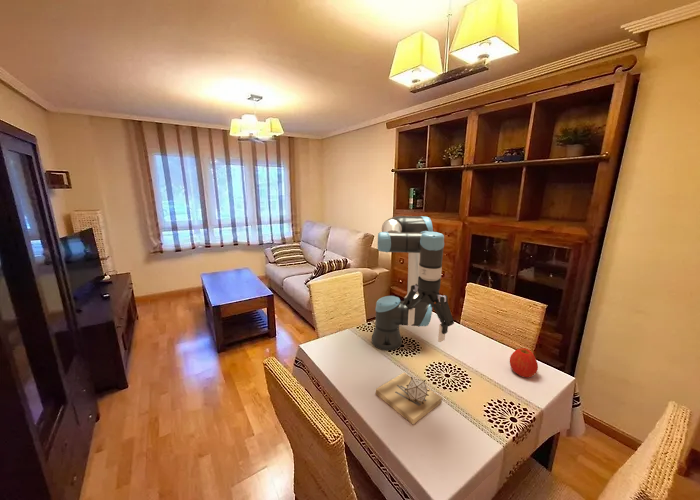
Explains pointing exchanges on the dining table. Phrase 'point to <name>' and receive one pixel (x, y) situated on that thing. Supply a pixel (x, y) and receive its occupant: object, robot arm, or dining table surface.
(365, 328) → the dining table surface
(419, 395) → the game die
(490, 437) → the dining table surface
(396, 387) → the board
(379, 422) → the dining table surface
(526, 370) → the apple
